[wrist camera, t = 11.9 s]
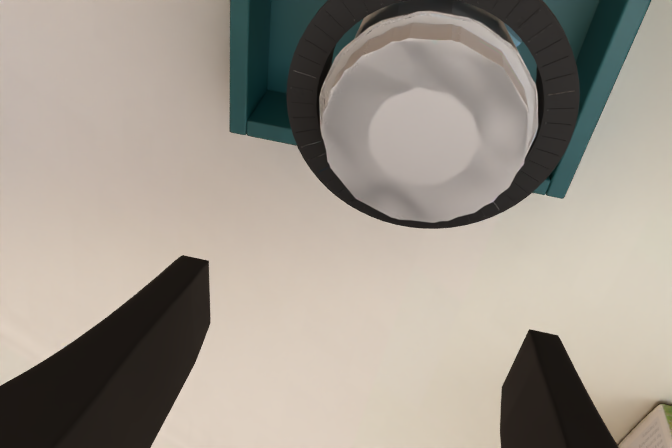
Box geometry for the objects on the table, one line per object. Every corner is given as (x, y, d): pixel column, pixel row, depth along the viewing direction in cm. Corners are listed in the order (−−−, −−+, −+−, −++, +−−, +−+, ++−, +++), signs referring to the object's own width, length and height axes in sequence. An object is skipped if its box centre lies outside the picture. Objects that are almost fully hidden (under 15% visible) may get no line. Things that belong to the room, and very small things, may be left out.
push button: (291, -41, 18) (156, 91, 10) (410, -203, 15) (346, -187, 8) (442, 98, 20) (423, 299, 12) (574, -23, 17) (660, 140, 9)
